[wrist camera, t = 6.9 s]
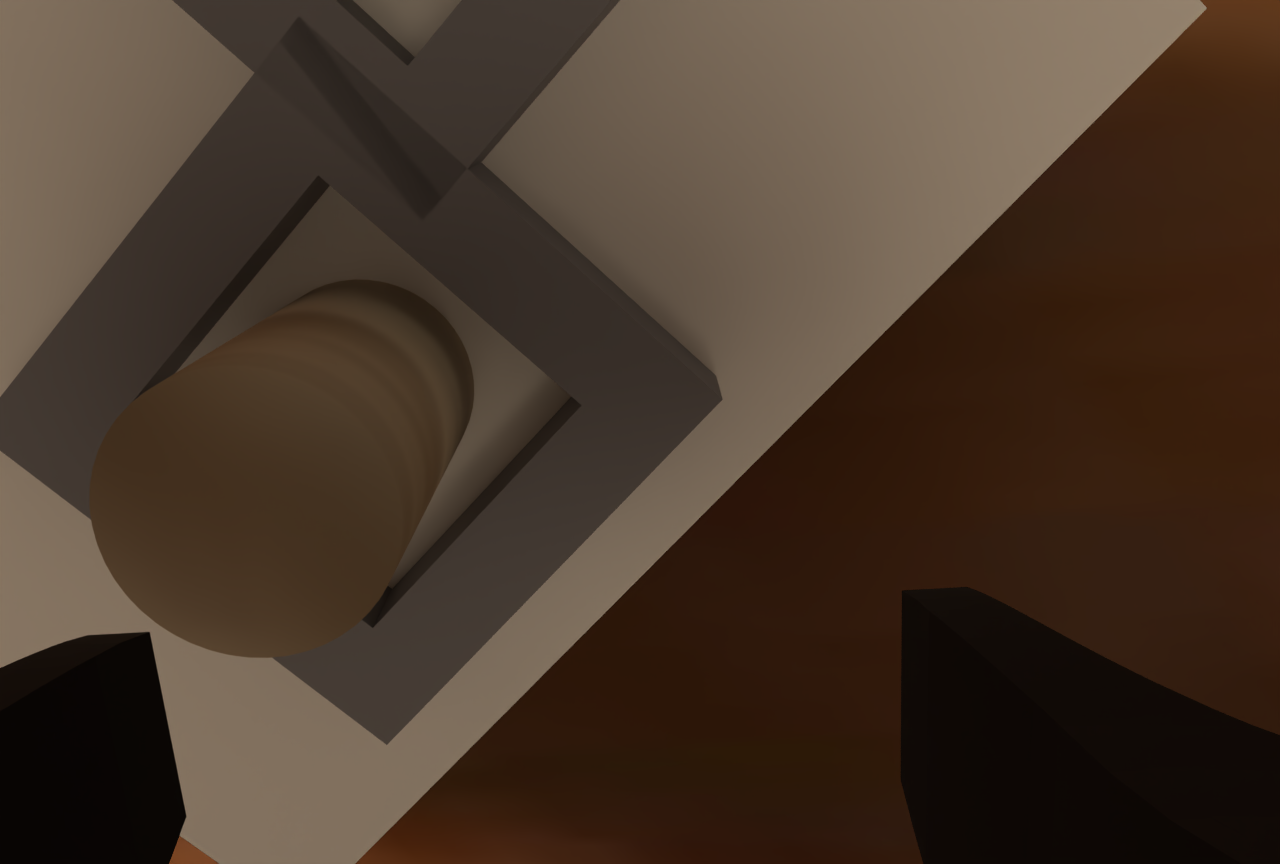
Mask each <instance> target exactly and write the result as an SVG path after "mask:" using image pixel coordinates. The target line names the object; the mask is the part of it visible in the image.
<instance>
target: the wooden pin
mask: <svg viewBox="0 0 1280 864" xmlns="http://www.w3.org/2000/svg"><path fill="white" fill-rule="evenodd" d="M473 401H474V379H473V373H472V367H471V364H470V360H469V357H468V354H467V352H466V349H465V347H464V345H463V343H462V341H461V339H460V337H459V336H458V334H457V333H456V331H455V329H454V328H453V327H452V325H451V324H450V323H449V322H448V320H447V319H446V318H445V317H444V316H443V315H442V314H441V313H440V312H439V311H438V310H437V309H436V308H435V307H433V306H432V305H431V304H429V303H428V302H427V301H425V300H424V299H423V298H421V297H419V296H417V295H416V294H414V293H412V292H410V291H408V290H406V289H403V288H401V287H399V286H396V285H392V284H389V283H385V282H381V281H374V280H356V279H353V280H345V281H338V282H334V283H330V284H326V285H324V286H321V287H319V288H316V289H314V290H312V291H310V292H308V293H307V294H305V295H303V296H301V297H300V298H298V299H296V300H295V301H293V302H292V303H290V304H288V305H287V306H285V307H283V308H282V309H280V310H278V311H277V312H275V313H274V314H272V315H270V316H269V317H267V318H265V319H264V320H262V321H260V322H259V323H257V324H255V325H254V326H252V327H251V328H249V329H247V330H246V331H244V332H242V333H241V334H239V335H237V336H236V337H234V338H232V339H231V340H229V341H228V342H226V343H224V344H223V345H221V346H219V347H218V348H216V349H214V350H213V351H211V352H210V353H208V354H206V355H205V356H203V357H201V358H200V359H198V360H196V361H195V362H193V363H191V364H190V365H188V366H187V367H185V368H183V369H182V370H180V371H178V372H177V373H175V374H173V375H172V376H170V377H168V378H167V379H165V380H164V381H162V382H160V383H159V384H157V385H155V386H154V387H152V388H150V389H149V390H147V391H146V392H144V393H143V394H142V395H140V396H139V397H138V398H137V399H135V400H134V401H133V402H132V403H130V404H129V406H128V407H127V408H126V409H125V410H124V411H123V412H122V413H121V414H120V415H119V416H118V417H117V419H116V420H115V422H114V423H113V424H112V426H111V427H110V429H109V430H108V432H107V433H106V435H105V437H104V439H103V441H102V443H101V445H100V448H99V450H98V452H97V456H96V459H95V462H94V465H93V468H92V475H91V481H90V496H89V507H90V515H91V522H92V528H93V531H94V535H95V539H96V542H97V545H98V548H99V550H100V553H101V555H102V557H103V560H104V562H105V564H106V566H107V567H108V569H109V571H110V573H111V574H112V576H113V578H114V580H115V581H116V582H117V584H118V585H119V586H120V588H121V589H122V590H123V592H124V593H125V594H126V596H127V597H128V598H129V599H130V600H131V601H132V602H133V603H134V604H135V605H136V606H137V607H138V608H139V609H140V610H141V611H142V612H143V613H144V614H146V615H147V616H148V617H149V618H150V619H152V620H153V621H154V622H155V623H157V624H158V625H160V626H161V627H163V628H164V629H166V630H167V631H169V632H170V633H172V634H174V635H176V636H178V637H180V638H182V639H184V640H185V641H187V642H189V643H192V644H194V645H197V646H200V647H202V648H205V649H208V650H211V651H215V652H219V653H223V654H227V655H233V656H240V657H248V658H272V657H281V656H289V655H293V654H298V653H302V652H306V651H309V650H312V649H314V648H317V647H320V646H322V645H325V644H327V643H329V642H330V641H332V640H334V639H336V638H338V637H340V636H341V635H343V634H344V633H346V632H347V631H348V630H350V629H351V628H353V627H354V626H355V625H357V624H358V623H359V622H360V621H361V620H362V619H363V618H364V617H365V616H366V615H367V614H368V613H369V612H370V611H371V609H372V608H373V607H374V606H375V604H376V603H377V602H378V601H379V599H380V598H381V596H382V594H383V593H384V591H385V589H386V588H387V586H388V584H389V582H390V580H391V578H392V576H393V574H394V572H395V570H396V568H397V566H398V564H399V562H400V560H401V559H402V557H403V555H404V553H405V551H406V549H407V547H408V545H409V543H410V541H411V539H412V537H413V535H414V533H415V531H416V529H417V527H418V525H419V523H420V521H421V519H422V517H423V515H424V513H425V511H426V509H427V507H428V505H429V503H430V501H431V499H432V497H433V495H434V493H435V491H436V489H437V487H438V485H439V483H440V481H441V479H442V477H443V475H444V473H445V471H446V469H447V467H448V465H449V463H450V461H451V459H452V457H453V455H454V453H455V451H456V449H457V447H458V445H459V443H460V441H461V439H462V437H463V435H464V433H465V431H466V428H467V426H468V423H469V421H470V417H471V413H472V409H473Z"/></svg>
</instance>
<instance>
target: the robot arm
mask: <svg viewBox="0 0 1280 864" xmlns="http://www.w3.org/2000/svg"><path fill="white" fill-rule="evenodd" d="M901 782H902V786H903V790H904V794H905V798H906V802H907V805H908V809H909V813H910V817H911V821H912V825H913V828H914V832H915V836H916V839H917V843H918V846H919V850H920V853H921V857H922V860H923V864H1280V735H1278V734H1275V733H1272V732H1269V731H1267V730H1264V729H1261V728H1258V727H1256V726H1253V725H1251V724H1248V723H1246V722H1243V721H1241V720H1238V719H1236V718H1234V717H1231V716H1229V715H1226V714H1224V713H1221V712H1219V711H1217V710H1214V709H1212V708H1210V707H1208V706H1206V705H1203V704H1201V703H1199V702H1197V701H1195V700H1192V699H1190V698H1188V697H1186V696H1184V695H1181V694H1179V693H1177V692H1175V691H1173V690H1171V689H1168V688H1166V687H1164V686H1162V685H1160V684H1157V683H1155V682H1153V681H1151V680H1149V679H1147V678H1145V677H1143V676H1141V675H1139V674H1137V673H1135V672H1133V671H1131V670H1129V669H1127V668H1125V667H1123V666H1121V665H1119V664H1117V663H1115V662H1113V661H1111V660H1109V659H1107V658H1105V657H1103V656H1101V655H1099V654H1097V653H1095V652H1094V651H1092V650H1090V649H1088V648H1086V647H1084V646H1082V645H1080V644H1078V643H1076V642H1075V641H1073V640H1071V639H1069V638H1067V637H1065V636H1063V635H1062V634H1060V633H1058V632H1056V631H1054V630H1052V629H1051V628H1049V627H1047V626H1045V625H1043V624H1041V623H1039V622H1038V621H1036V620H1034V619H1032V618H1030V617H1028V616H1027V615H1025V614H1023V613H1021V612H1019V611H1017V610H1015V609H1014V608H1012V607H1010V606H1008V605H1006V604H1004V603H1002V602H1000V601H998V600H996V599H994V598H992V597H990V596H988V595H986V594H983V593H981V592H979V591H976V590H974V589H971V588H968V587H959V588H940V589H922V590H904V591H902V668H901ZM185 819H186V811H185V806H184V801H183V796H182V791H181V786H180V781H179V776H178V771H177V766H176V761H175V756H174V751H173V746H172V741H171V736H170V731H169V726H168V721H167V716H166V711H165V706H164V701H163V696H162V691H161V686H160V681H159V676H158V671H157V666H156V661H155V656H154V651H153V646H152V641H151V636H150V632H136V633H118V634H100V635H86V636H83V637H79V638H76V639H72V640H69V641H65V642H62V643H60V644H57V645H54V646H51V647H49V648H46V649H44V650H41V651H39V652H36V653H34V654H31V655H29V656H27V657H24V658H22V659H19V660H17V661H15V662H13V663H10V664H8V665H6V666H4V667H1V668H0V864H169V862H170V859H171V857H172V854H173V851H174V849H175V846H176V843H177V841H178V838H179V835H180V833H181V830H182V827H183V825H184V822H185Z"/></svg>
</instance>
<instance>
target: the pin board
mask: <svg viewBox="0 0 1280 864" xmlns="http://www.w3.org/2000/svg"><path fill="white" fill-rule="evenodd" d="M1206 9H1207V8H1206V7H1205V6H1204V4H1203V3H1202V2H1201V1H1200V0H0V668H1V667H4V666H6V665H8V664H10V663H13V662H15V661H17V660H19V659H22V658H24V657H27V656H29V655H31V654H34V653H36V652H39V651H41V650H44V649H46V648H49V647H51V646H54V645H57V644H60V643H62V642H65V641H69V640H72V639H76V638H79V637H83V636H86V635H100V634H118V633H136V632H150V636H151V641H152V646H153V651H154V656H155V661H156V666H157V671H158V676H159V681H160V686H161V691H162V696H163V701H164V706H165V711H166V716H167V721H168V726H169V731H170V736H171V741H172V746H173V751H174V756H175V761H176V766H177V771H178V776H179V781H180V786H181V791H182V796H183V801H184V806H185V811H186V819H185V822H184V825H183V827H182V830H181V833H180V836H181V837H182V838H184V839H185V840H187V841H188V842H189V843H191V844H192V845H194V846H195V847H197V848H198V849H199V850H201V851H202V852H204V853H205V854H206V855H208V856H209V857H211V858H212V859H213V860H215V861H216V862H218V863H219V864H355V863H356V862H357V861H358V860H359V859H360V858H361V857H362V856H363V855H364V854H365V853H366V852H367V851H368V850H369V849H370V848H371V847H372V846H373V845H374V844H375V843H376V842H377V841H378V840H379V839H380V838H381V837H382V836H383V835H384V834H385V833H386V832H387V831H388V830H389V829H390V828H391V827H392V826H393V825H394V824H395V823H396V822H397V821H398V820H399V819H400V818H401V817H402V816H403V815H404V814H405V813H406V812H407V811H408V810H409V809H410V808H411V807H412V806H413V805H414V804H415V803H416V802H417V801H418V800H419V799H420V798H421V797H422V796H423V795H424V794H425V793H426V792H427V791H428V790H429V789H430V788H431V787H432V786H433V785H434V784H435V783H436V782H437V781H438V780H439V779H440V778H441V777H442V776H443V775H444V774H445V773H446V772H447V771H448V770H449V769H450V768H451V767H452V766H453V765H454V764H455V763H456V762H457V761H458V760H459V759H460V758H461V757H462V756H463V755H464V754H465V753H466V752H467V751H468V750H469V749H470V748H471V747H472V746H473V745H474V744H475V743H476V742H477V741H478V740H479V739H480V738H481V737H482V736H483V735H484V734H485V733H486V732H487V731H488V730H489V729H490V728H491V727H492V726H493V725H494V724H495V723H496V722H497V721H498V720H499V719H500V718H501V717H502V716H503V715H504V714H505V713H506V712H507V711H508V710H509V709H510V708H511V707H512V706H513V705H514V704H515V703H516V702H517V701H518V700H519V699H520V698H521V697H522V696H523V695H524V694H525V693H526V692H527V691H528V690H529V689H530V688H531V687H532V686H533V685H534V684H535V682H536V681H537V680H538V679H539V678H540V677H541V676H542V675H543V674H544V673H545V672H546V671H547V670H548V669H549V668H550V667H551V666H552V665H553V664H554V663H555V662H556V661H557V660H558V659H559V658H560V657H561V656H562V655H563V654H564V653H565V652H566V651H567V650H568V649H569V648H570V647H571V646H572V645H573V644H574V643H575V642H576V641H577V640H578V639H579V638H580V637H581V636H582V635H583V634H584V633H585V632H586V631H587V630H588V629H589V628H590V627H591V626H592V625H593V624H594V623H595V622H596V621H597V620H598V619H599V618H600V617H601V616H602V615H603V614H604V613H605V612H606V611H607V610H608V609H609V608H610V607H611V606H612V605H613V604H614V603H615V602H616V601H617V600H618V599H619V598H620V597H621V596H622V595H623V594H624V593H625V592H626V591H627V590H628V589H629V588H630V587H631V586H632V585H633V584H634V583H635V582H636V581H637V580H638V579H639V578H640V577H641V576H642V575H643V574H644V573H645V572H646V571H647V570H648V569H649V568H650V567H651V566H652V565H653V564H654V563H655V562H656V561H657V560H658V559H659V558H660V557H661V556H662V555H663V554H664V553H665V552H666V551H667V550H668V549H669V548H670V547H671V546H672V545H673V544H674V543H675V542H676V541H677V540H678V539H679V538H680V537H681V536H682V535H683V534H684V533H685V532H686V531H687V530H688V529H689V528H690V527H691V526H692V525H693V524H694V523H695V522H696V521H697V520H698V519H699V518H700V517H701V516H702V515H703V514H704V513H705V512H706V511H707V510H708V509H709V508H710V507H711V506H712V505H713V504H714V503H715V502H716V501H717V500H718V499H719V498H720V497H721V496H722V495H723V494H724V493H725V492H726V491H727V490H728V489H729V488H730V487H731V486H732V485H733V484H734V483H735V482H736V481H737V480H738V479H739V478H740V477H741V476H742V475H743V474H744V473H745V472H746V471H747V470H748V469H749V468H750V467H751V466H752V465H753V464H754V463H755V462H756V461H757V460H758V459H759V458H760V457H761V456H762V455H763V454H764V453H765V452H766V451H767V450H768V449H769V448H770V447H771V446H772V445H773V444H774V443H775V442H776V440H777V439H778V438H779V437H780V436H781V435H782V434H783V433H784V432H785V431H786V430H787V429H788V428H789V427H790V426H791V425H792V424H793V423H794V422H795V421H796V420H797V419H798V418H799V417H800V416H801V415H802V414H803V413H804V412H805V411H806V410H807V409H808V408H809V407H810V406H811V405H812V404H813V403H814V402H815V401H816V400H817V399H818V398H819V397H820V396H821V395H822V394H823V393H824V392H825V391H826V390H827V389H828V388H829V387H830V386H831V385H832V384H833V383H834V382H835V381H836V380H837V379H838V378H839V377H840V376H841V375H842V374H843V373H844V372H845V371H846V370H847V369H848V368H849V367H850V366H851V365H852V364H853V363H854V362H855V361H856V360H857V359H858V358H859V357H860V356H861V355H862V354H863V353H864V352H865V351H866V350H867V349H868V348H869V347H870V346H871V345H872V344H873V343H874V342H875V341H876V340H877V339H878V338H879V337H880V336H881V335H882V334H883V333H884V332H885V331H886V330H887V329H888V328H889V327H890V326H891V325H892V324H893V323H894V322H895V321H896V320H897V319H898V318H899V317H900V316H901V315H902V314H903V313H904V312H905V311H906V310H907V309H908V308H909V307H910V306H911V305H912V304H913V303H914V302H915V301H916V300H917V299H918V298H919V297H920V296H921V295H922V294H923V293H924V292H925V291H926V290H927V289H928V288H929V287H930V286H931V285H932V284H933V283H934V282H935V281H936V280H937V279H938V278H939V277H940V276H941V275H942V274H943V273H944V272H945V271H946V270H947V269H948V268H949V267H950V266H951V265H952V264H953V263H954V262H955V261H956V260H957V259H958V258H959V257H960V256H961V255H962V254H963V253H964V252H965V251H966V250H967V249H968V248H969V247H970V246H971V245H972V244H973V243H974V242H975V241H976V240H977V239H978V238H979V237H980V236H981V235H982V234H983V233H984V232H985V231H986V230H987V229H988V228H989V227H990V226H991V225H992V224H993V223H994V222H995V221H996V220H997V219H998V218H999V217H1000V216H1001V215H1002V214H1003V213H1004V212H1005V211H1006V210H1007V209H1008V208H1009V207H1010V206H1011V205H1012V204H1013V203H1014V202H1015V201H1016V200H1017V198H1018V197H1019V196H1020V195H1021V194H1022V193H1023V192H1024V191H1025V190H1026V189H1027V188H1028V187H1029V186H1030V185H1031V184H1032V183H1033V182H1034V181H1035V180H1036V179H1037V178H1038V177H1039V176H1040V175H1041V174H1042V173H1043V172H1044V171H1045V170H1046V169H1047V168H1048V167H1049V166H1050V165H1051V164H1052V163H1053V162H1054V161H1055V160H1056V159H1057V158H1058V157H1059V156H1060V155H1061V154H1062V153H1063V152H1064V151H1065V150H1066V149H1067V148H1068V147H1069V146H1070V145H1071V144H1072V143H1073V142H1074V141H1075V140H1076V139H1077V138H1078V137H1079V136H1080V135H1081V134H1082V133H1083V132H1084V131H1085V130H1086V129H1087V128H1088V127H1089V126H1090V125H1091V124H1092V123H1093V122H1094V121H1095V120H1096V119H1097V118H1098V117H1099V116H1100V115H1101V114H1102V113H1103V112H1104V111H1105V110H1106V109H1107V108H1108V107H1109V106H1110V105H1111V104H1112V103H1113V102H1114V101H1115V100H1116V99H1117V98H1118V97H1119V96H1120V95H1121V94H1122V93H1123V92H1124V91H1125V90H1126V89H1127V88H1128V87H1129V86H1130V85H1131V84H1132V83H1133V82H1134V81H1135V80H1136V79H1137V78H1138V77H1139V76H1140V75H1141V74H1142V73H1143V72H1144V71H1145V70H1146V69H1147V68H1148V67H1149V66H1150V65H1151V64H1152V63H1153V62H1154V61H1155V60H1156V59H1157V58H1158V57H1159V56H1160V55H1161V54H1162V53H1163V52H1164V51H1165V50H1166V49H1167V48H1168V47H1169V46H1170V45H1171V44H1172V43H1173V42H1174V41H1175V40H1176V39H1177V38H1178V37H1179V36H1180V35H1181V34H1182V33H1183V32H1184V31H1185V30H1186V29H1187V28H1188V27H1189V26H1190V25H1191V24H1192V23H1193V22H1194V21H1195V20H1196V19H1197V18H1198V17H1199V16H1200V15H1201V14H1202V13H1203V12H1204V11H1205V10H1206ZM353 279H356V280H374V281H381V282H385V283H389V284H392V285H396V286H399V287H401V288H403V289H406V290H408V291H410V292H412V293H414V294H416V295H417V296H419V297H421V298H423V299H424V300H425V301H427V302H428V303H429V304H431V305H432V306H433V307H435V308H436V309H437V310H438V311H439V312H440V313H441V314H442V315H443V316H444V317H445V318H446V319H447V320H448V322H449V323H450V324H451V325H452V327H453V328H454V329H455V331H456V333H457V334H458V336H459V337H460V339H461V341H462V343H463V345H464V347H465V349H466V352H467V354H468V357H469V360H470V364H471V367H472V373H473V379H474V401H473V409H472V413H471V417H470V421H469V423H468V426H467V428H466V431H465V433H464V435H463V437H462V439H461V441H460V443H459V445H458V447H457V449H456V451H455V453H454V455H453V457H452V459H451V461H450V463H449V465H448V467H447V469H446V471H445V473H444V475H443V477H442V479H441V481H440V483H439V485H438V487H437V489H436V491H435V493H434V495H433V497H432V499H431V501H430V503H429V505H428V507H427V509H426V511H425V513H424V515H423V517H422V519H421V521H420V523H419V525H418V527H417V529H416V531H415V533H414V535H413V537H412V539H411V541H410V543H409V545H408V547H407V549H406V551H405V553H404V555H403V557H402V559H401V560H400V562H399V564H398V566H397V568H396V570H395V572H394V574H393V576H392V578H391V580H390V582H389V584H388V586H387V588H386V589H385V591H384V593H383V594H382V596H381V598H380V599H379V601H378V602H377V603H376V604H375V606H374V607H373V608H372V609H371V611H370V612H369V613H368V614H367V615H366V616H365V617H364V618H363V619H362V620H361V621H360V622H359V623H358V624H357V625H355V626H354V627H353V628H351V629H350V630H348V631H347V632H346V633H344V634H343V635H341V636H340V637H338V638H336V639H334V640H332V641H330V642H329V643H327V644H325V645H322V646H320V647H317V648H314V649H312V650H309V651H306V652H302V653H298V654H293V655H289V656H281V657H272V658H248V657H240V656H233V655H227V654H223V653H219V652H215V651H211V650H208V649H205V648H202V647H200V646H197V645H194V644H192V643H189V642H187V641H185V640H184V639H182V638H180V637H178V636H176V635H174V634H172V633H170V632H169V631H167V630H166V629H164V628H163V627H161V626H160V625H158V624H157V623H155V622H154V621H153V620H152V619H150V618H149V617H148V616H147V615H146V614H144V613H143V612H142V611H141V610H140V609H139V608H138V607H137V606H136V605H135V604H134V603H133V602H132V601H131V600H130V599H129V598H128V597H127V596H126V594H125V593H124V592H123V590H122V589H121V588H120V586H119V585H118V584H117V582H116V581H115V580H114V578H113V576H112V574H111V573H110V571H109V569H108V567H107V566H106V564H105V562H104V560H103V557H102V555H101V553H100V550H99V548H98V545H97V542H96V539H95V535H94V531H93V528H92V522H91V515H90V507H89V496H90V481H91V475H92V468H93V465H94V462H95V459H96V456H97V452H98V450H99V448H100V445H101V443H102V441H103V439H104V437H105V435H106V433H107V432H108V430H109V429H110V427H111V426H112V424H113V423H114V422H115V420H116V419H117V417H118V416H119V415H120V414H121V413H122V412H123V411H124V410H125V409H126V408H127V407H128V406H129V404H130V403H132V402H133V401H134V400H135V399H137V398H138V397H139V396H140V395H142V394H143V393H144V392H146V391H147V390H149V389H150V388H152V387H154V386H155V385H157V384H159V383H160V382H162V381H164V380H165V379H167V378H168V377H170V376H172V375H173V374H175V373H177V372H178V371H180V370H182V369H183V368H185V367H187V366H188V365H190V364H191V363H193V362H195V361H196V360H198V359H200V358H201V357H203V356H205V355H206V354H208V353H210V352H211V351H213V350H214V349H216V348H218V347H219V346H221V345H223V344H224V343H226V342H228V341H229V340H231V339H232V338H234V337H236V336H237V335H239V334H241V333H242V332H244V331H246V330H247V329H249V328H251V327H252V326H254V325H255V324H257V323H259V322H260V321H262V320H264V319H265V318H267V317H269V316H270V315H272V314H274V313H275V312H277V311H278V310H280V309H282V308H283V307H285V306H287V305H288V304H290V303H292V302H293V301H295V300H296V299H298V298H300V297H301V296H303V295H305V294H307V293H308V292H310V291H312V290H314V289H316V288H319V287H321V286H324V285H326V284H330V283H334V282H338V281H345V280H353Z"/></svg>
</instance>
